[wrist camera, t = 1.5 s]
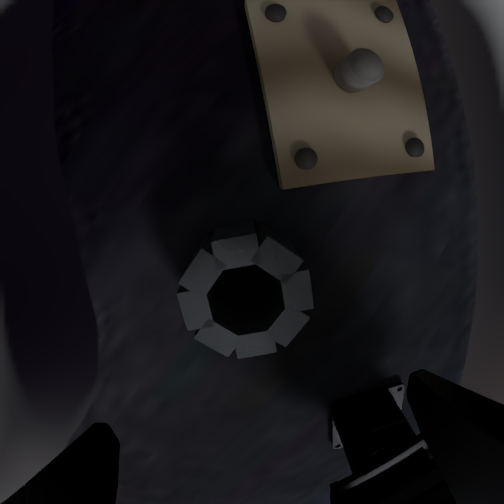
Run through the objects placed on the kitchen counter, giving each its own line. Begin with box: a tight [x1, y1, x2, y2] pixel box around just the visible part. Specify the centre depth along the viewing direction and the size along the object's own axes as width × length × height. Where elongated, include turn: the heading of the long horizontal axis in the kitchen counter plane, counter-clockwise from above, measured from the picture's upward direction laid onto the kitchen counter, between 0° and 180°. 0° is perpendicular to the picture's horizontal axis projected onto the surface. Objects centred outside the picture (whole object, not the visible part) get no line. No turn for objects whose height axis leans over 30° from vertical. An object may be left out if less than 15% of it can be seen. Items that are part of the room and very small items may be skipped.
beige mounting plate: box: [245, 0, 435, 190], centre depth 14 cm, size 12×10×5 cm
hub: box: [177, 220, 314, 359], centre depth 18 cm, size 7×7×4 cm
